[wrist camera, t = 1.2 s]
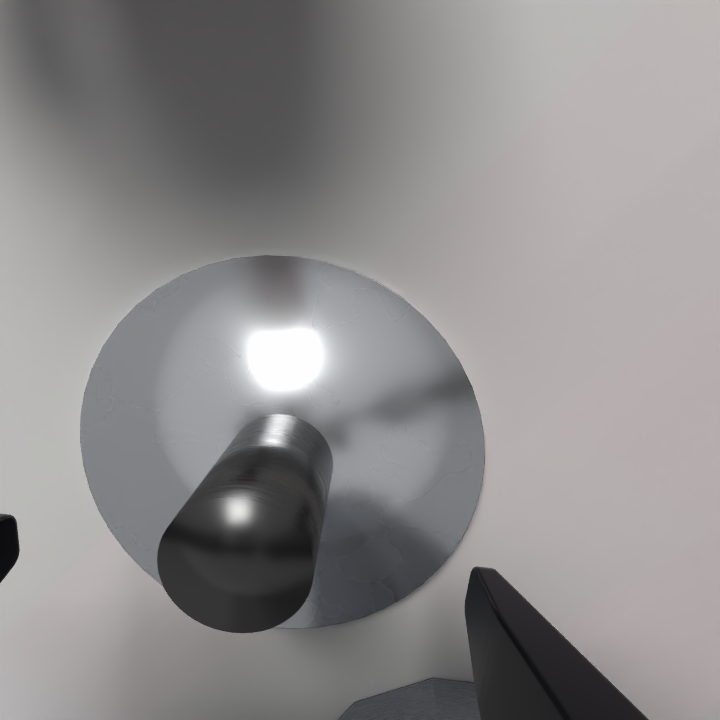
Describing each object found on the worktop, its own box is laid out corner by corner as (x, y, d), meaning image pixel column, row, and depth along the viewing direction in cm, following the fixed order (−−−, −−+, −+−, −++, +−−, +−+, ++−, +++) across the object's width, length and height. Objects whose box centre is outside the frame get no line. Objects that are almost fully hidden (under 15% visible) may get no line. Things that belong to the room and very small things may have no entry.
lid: (512, 280, 11) (614, 298, 7) (445, 625, 14) (483, 815, 9) (88, 233, 11) (-120, 216, 7) (105, 588, 14) (-32, 759, 9)
